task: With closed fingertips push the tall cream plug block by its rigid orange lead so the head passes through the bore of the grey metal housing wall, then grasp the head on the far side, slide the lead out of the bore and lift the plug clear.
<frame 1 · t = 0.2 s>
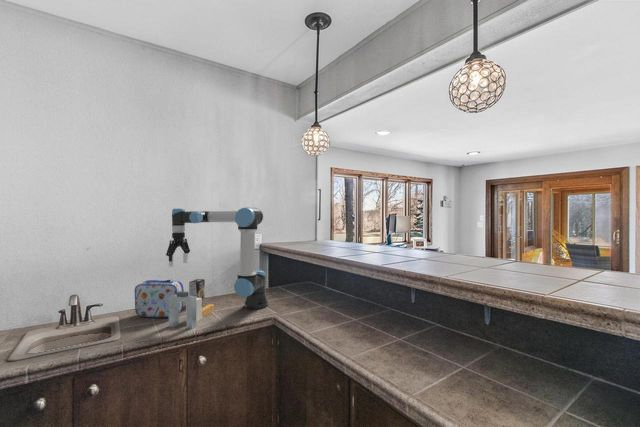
hand: (178, 264, 195), 28 cm above the counter, fingers open, 13 cm apart
lunch box: (160, 316, 178), on the counter
coffee box: (197, 304, 200), on the counter
housing: (182, 326, 162), on the counter
plug: (194, 319, 171), on the counter
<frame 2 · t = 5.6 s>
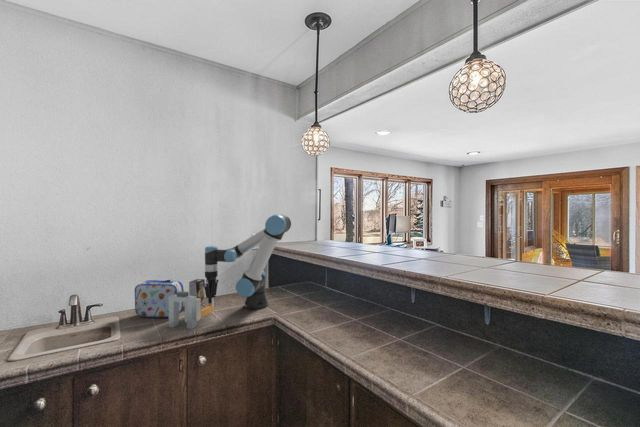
hand: (211, 307, 189), 1 cm above the counter, fingers closed
plug: (192, 320, 170), on the counter, touching gripper
everything else where it was.
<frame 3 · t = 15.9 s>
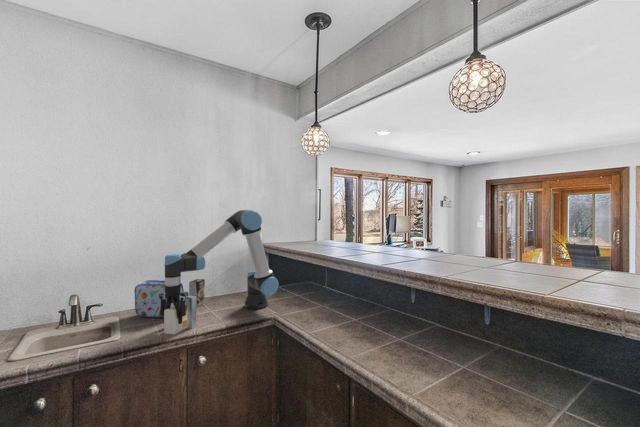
hand: (172, 329, 154), 1 cm above the counter, fingers closed on plug, 6 cm apart
plug: (173, 331, 155), on the counter, touching gripper
everything else where it was.
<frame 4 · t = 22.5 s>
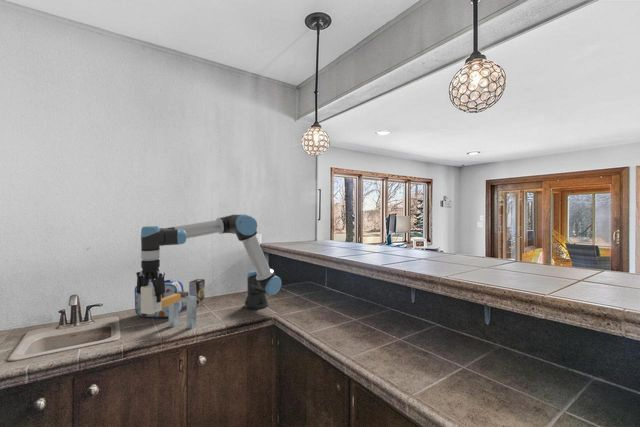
hand: (150, 308, 140), 17 cm above the counter, fingers closed on plug, 6 cm apart
plug: (151, 311, 140), point 15 cm above the counter, touching gripper
everything else where it was.
at the end: plug inside the target area (3.4 cm from its centre), point 15.4 cm above the counter; plug touching gripper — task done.
